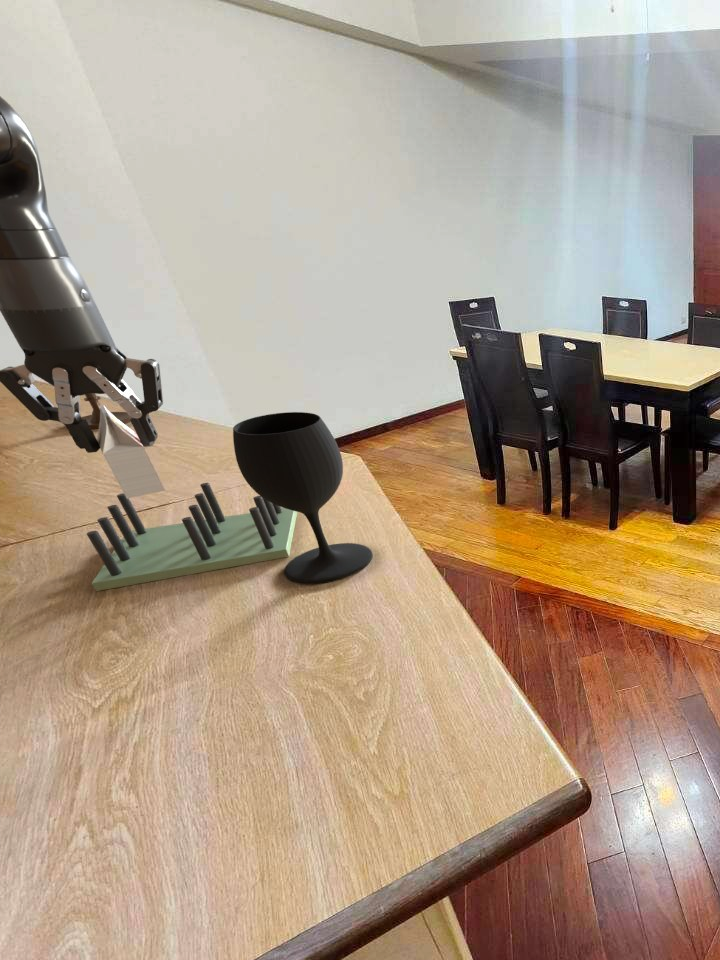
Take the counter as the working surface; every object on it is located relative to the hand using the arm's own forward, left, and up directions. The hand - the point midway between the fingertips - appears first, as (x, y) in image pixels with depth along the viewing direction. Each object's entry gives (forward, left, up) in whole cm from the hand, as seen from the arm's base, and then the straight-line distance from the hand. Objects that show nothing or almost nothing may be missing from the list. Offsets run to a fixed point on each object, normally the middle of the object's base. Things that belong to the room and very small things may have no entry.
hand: (121, 447), depth 74 cm
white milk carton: (0, 0, -6) cm, 6 cm away
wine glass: (+19, -12, -16) cm, 27 cm away
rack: (+4, 0, -15) cm, 16 cm away
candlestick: (-25, +72, -16) cm, 77 cm away
